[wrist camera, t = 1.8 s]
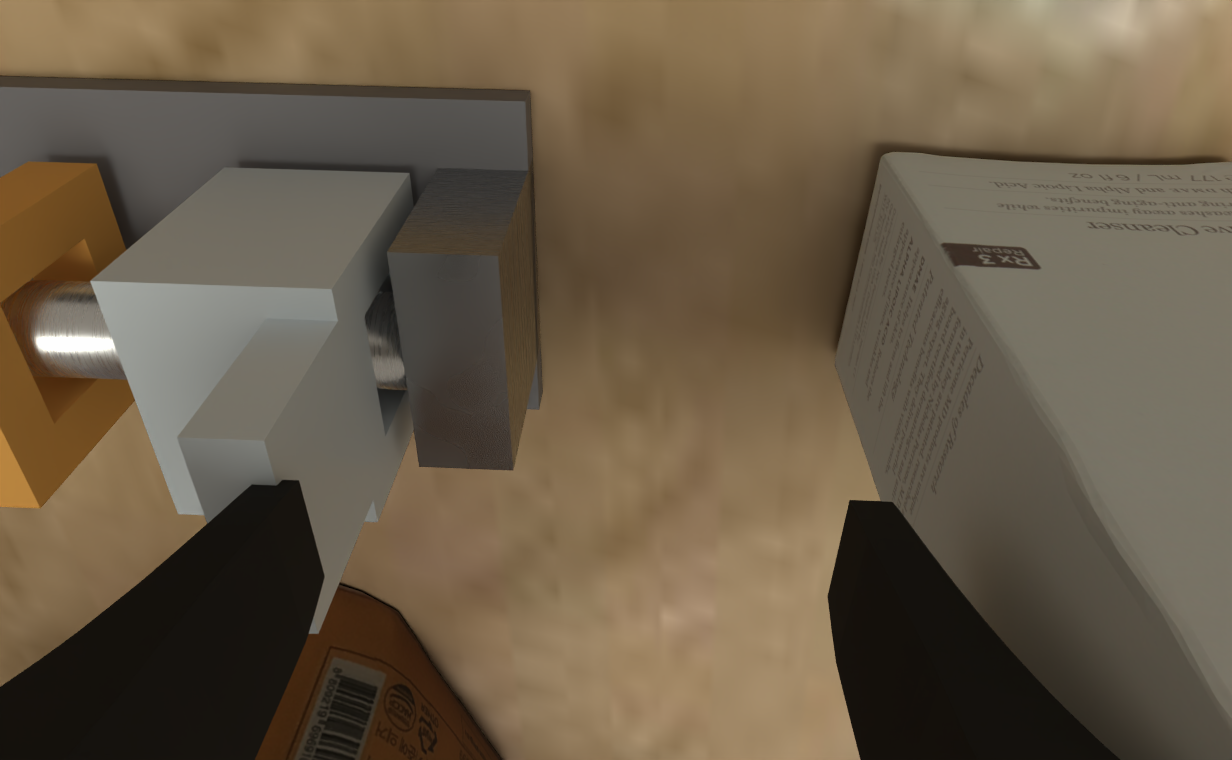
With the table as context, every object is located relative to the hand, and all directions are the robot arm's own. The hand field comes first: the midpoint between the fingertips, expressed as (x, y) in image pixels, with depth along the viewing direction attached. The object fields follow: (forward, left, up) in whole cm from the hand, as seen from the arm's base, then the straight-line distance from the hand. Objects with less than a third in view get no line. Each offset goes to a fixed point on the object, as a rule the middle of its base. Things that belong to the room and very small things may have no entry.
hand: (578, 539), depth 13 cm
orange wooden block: (+6, +10, -8) cm, 14 cm away
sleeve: (+3, +5, -8) cm, 10 cm away
